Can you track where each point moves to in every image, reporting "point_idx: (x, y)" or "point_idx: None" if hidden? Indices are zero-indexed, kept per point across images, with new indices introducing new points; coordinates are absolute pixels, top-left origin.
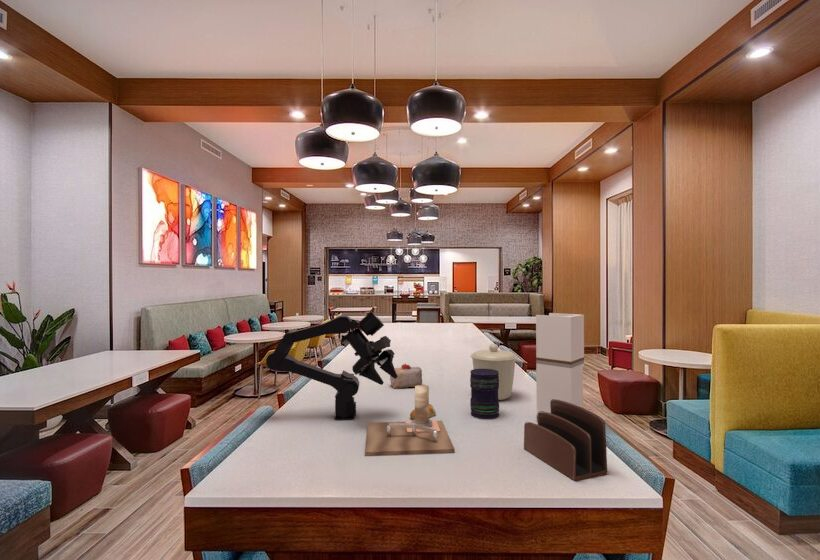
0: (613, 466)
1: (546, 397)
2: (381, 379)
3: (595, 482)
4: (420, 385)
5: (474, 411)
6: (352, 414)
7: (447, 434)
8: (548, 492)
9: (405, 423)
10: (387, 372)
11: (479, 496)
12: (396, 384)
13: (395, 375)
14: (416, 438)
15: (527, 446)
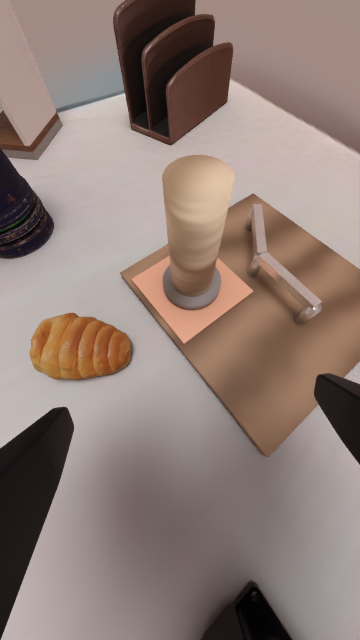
0: None
1: (8, 78)
2: (356, 389)
3: None
4: (179, 189)
5: (37, 229)
6: (247, 621)
7: None
8: (269, 109)
9: (277, 271)
10: (10, 598)
11: (335, 141)
12: None
13: (57, 426)
14: None
15: (175, 132)
